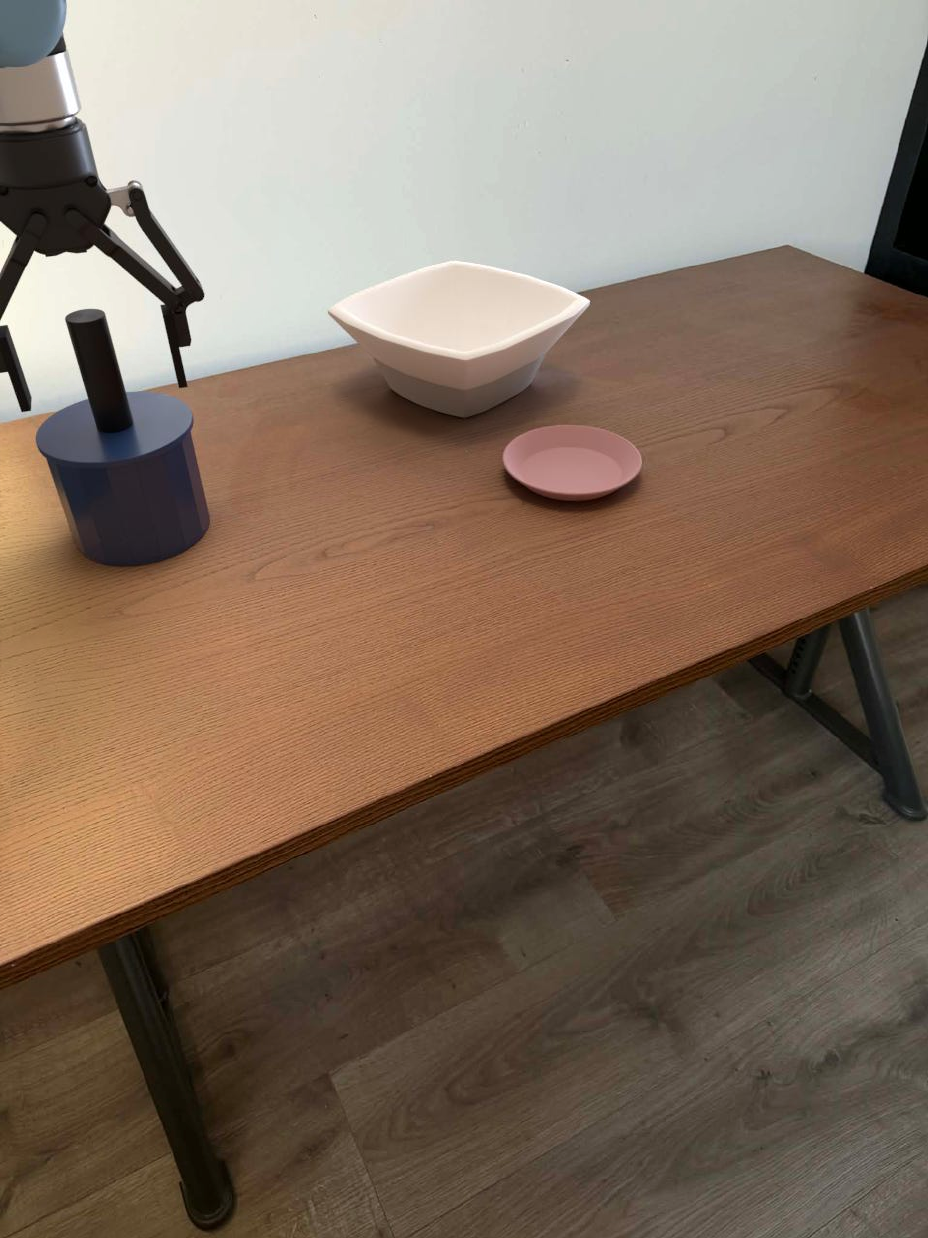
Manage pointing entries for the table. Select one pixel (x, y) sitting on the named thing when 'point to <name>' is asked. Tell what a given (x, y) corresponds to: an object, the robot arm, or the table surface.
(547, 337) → the bowl
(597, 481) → the plate
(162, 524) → the pot
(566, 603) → the table surface
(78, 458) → the lid
